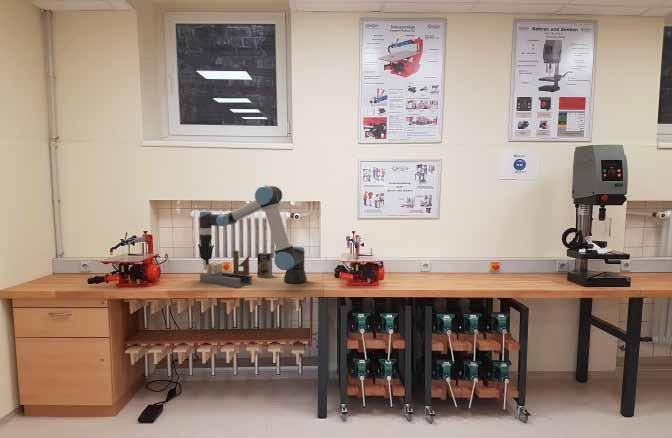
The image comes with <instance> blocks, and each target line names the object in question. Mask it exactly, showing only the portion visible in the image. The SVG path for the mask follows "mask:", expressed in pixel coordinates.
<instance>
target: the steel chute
mask: <svg viewBox="0 0 672 438" xmlns="http://www.w3.org/2000/svg"><path fill="white" fill-rule="evenodd" d="M252 277H253V276H252V275H250V274H249V275H239V274H233V272H232V273H231V272H225V271H224V272H223V271H222V276H217V275H211V274H207V273H205V272H202V273H200V274H199V281H200V282H203V283H208V284H213V285H218V284H220V285H219V286H224V285H225V287H230V286H231V287H232V288H237V289H239V288H243V287H246V285H247V286H249V284H250V285H252V284H253V283H252V281H253V280H252Z"/></svg>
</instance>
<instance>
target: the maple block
mask: <svg viewBox="0 0 672 438" xmlns="http://www.w3.org/2000/svg"><path fill="white" fill-rule="evenodd" d="M222 265H223V264H222V263H220V262H213V263H209V264H207V270H206V274H211V275H217V276H222V272H223V266H222Z"/></svg>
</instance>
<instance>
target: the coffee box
mask: <svg viewBox="0 0 672 438" xmlns="http://www.w3.org/2000/svg"><path fill="white" fill-rule="evenodd" d="M272 276H273V253H270V252H269V253H267V252H260V253H257V277H258V278H259V277H260V278H271V277H272Z"/></svg>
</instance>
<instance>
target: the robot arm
mask: <svg viewBox="0 0 672 438" xmlns="http://www.w3.org/2000/svg"><path fill="white" fill-rule="evenodd" d="M282 199H283V191H282V190H281V189H280V188H279V186H278V187H277V186H275V185H274V186H272V185H261V186H259V187H258V188H257V189H256V191H255V194H254V200H252V201H250V202H248V203H246V204H244V205H242V206H240V207H238V208H236V209H234V210H232V211H231V212H229V213H225V214H224V213H223V214H222V213H221V214H214V213H212V211H210V210H209V211H208V210H206V211H205V210H203V211H202V210H201V211H200V212H199V218H198V219H199V241H200V243H198V244H197V246H198V249H199V254H200V255H199V256H200V259H202V263H203V270H205V271H207V264H210V260H212V256H213V255H212V254H213V249H214V247H215V245H214V244H212V240H213V239H212V238H213V237H212V232H213V231H212V226H215V227H217V226H218V227H226V226H230V225H231V226H233V225H235V224H237V223H238V222H239V221H241V220H243V219H245V218H247V217H248V216H250V215H253V214H254V213H256V212H259V211H261V210H262V211H264V212H265V213H264V214H265V216H266V219H267V223H268V225H269V230H270V233H271V236H272V238H273V239H272V240H273V242H274V245H275V249H274V254H275V257H274V260H273V261H274V265H275V266H276V268H277V269H279V270H281V271H285V274H284V277H283V282H284V283H286V284H290V285H291V284H294V285H297V284H298V285H299V284H304V283H307V282H308V277H307V273H306V271H305V254H306V252H305V248H304V246H303V247H302V246H293V244H291V243H290V242H289V241H290V240H289V238H288V236H287V232H286V229H285V225H284V222H283V219H282V216H281V212H280V210H279V206H280V202H281V200H282Z"/></svg>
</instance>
